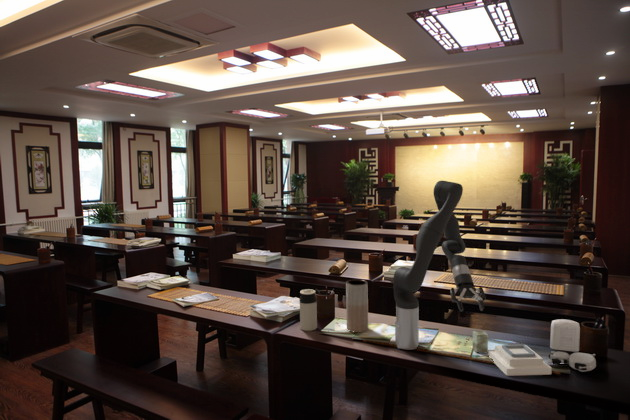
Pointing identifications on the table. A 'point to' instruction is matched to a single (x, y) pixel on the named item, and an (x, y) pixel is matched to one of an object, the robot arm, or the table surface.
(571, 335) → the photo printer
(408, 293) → the robot arm
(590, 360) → the robot toy
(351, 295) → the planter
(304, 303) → the travel mug
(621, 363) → the table surface
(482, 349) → the block
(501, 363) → the plinth
